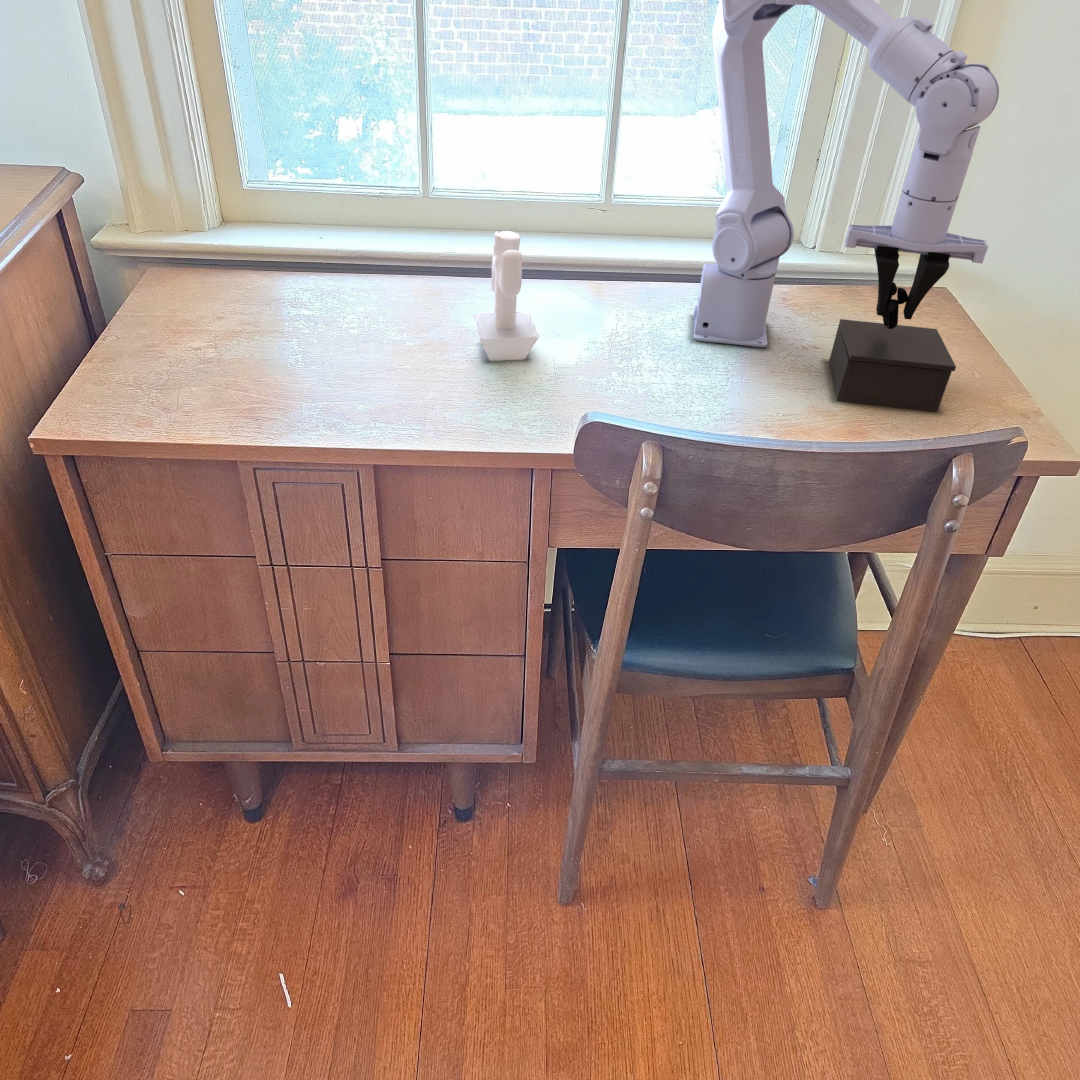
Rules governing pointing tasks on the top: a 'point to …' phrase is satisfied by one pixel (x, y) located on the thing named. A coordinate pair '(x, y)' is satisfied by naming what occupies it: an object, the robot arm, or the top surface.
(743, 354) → the top surface
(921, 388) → the case
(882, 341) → the case lid
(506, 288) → the figurine
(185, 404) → the top surface
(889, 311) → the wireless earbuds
